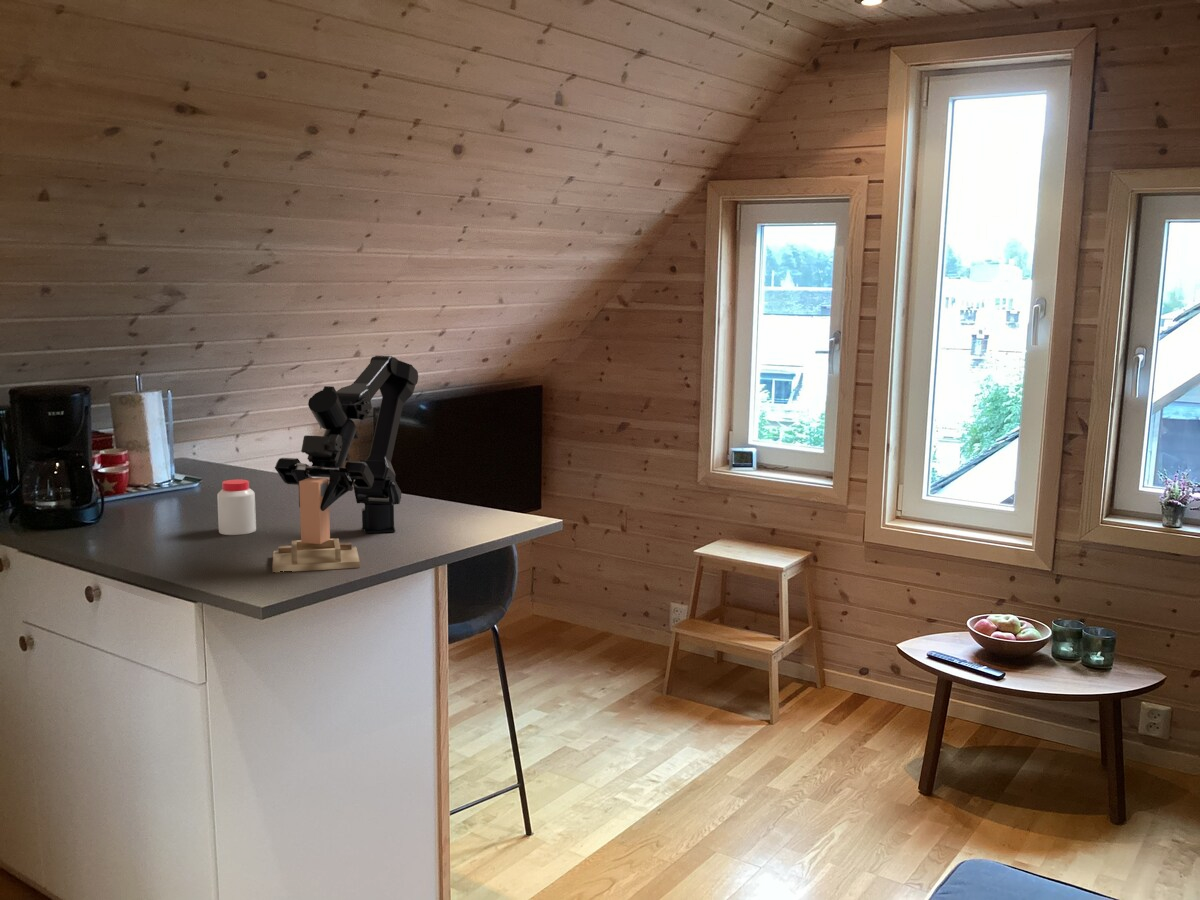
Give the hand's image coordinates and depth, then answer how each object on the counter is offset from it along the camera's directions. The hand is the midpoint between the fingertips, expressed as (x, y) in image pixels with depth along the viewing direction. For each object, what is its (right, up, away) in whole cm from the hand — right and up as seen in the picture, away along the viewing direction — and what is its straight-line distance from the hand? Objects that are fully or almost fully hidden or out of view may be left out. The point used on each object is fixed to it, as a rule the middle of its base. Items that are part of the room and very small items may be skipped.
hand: (311, 509), depth 205 cm
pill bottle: (-24, -7, +29) cm, 38 cm away
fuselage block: (0, -6, +2) cm, 7 cm away
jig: (0, -11, +4) cm, 11 cm away
